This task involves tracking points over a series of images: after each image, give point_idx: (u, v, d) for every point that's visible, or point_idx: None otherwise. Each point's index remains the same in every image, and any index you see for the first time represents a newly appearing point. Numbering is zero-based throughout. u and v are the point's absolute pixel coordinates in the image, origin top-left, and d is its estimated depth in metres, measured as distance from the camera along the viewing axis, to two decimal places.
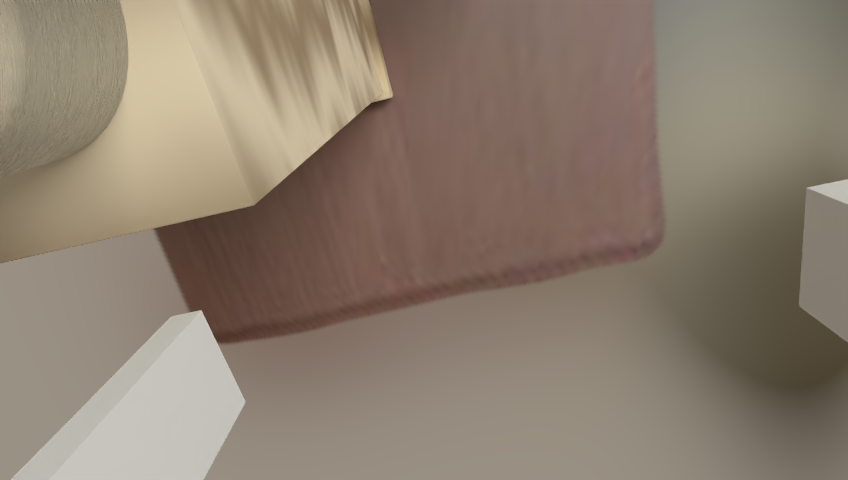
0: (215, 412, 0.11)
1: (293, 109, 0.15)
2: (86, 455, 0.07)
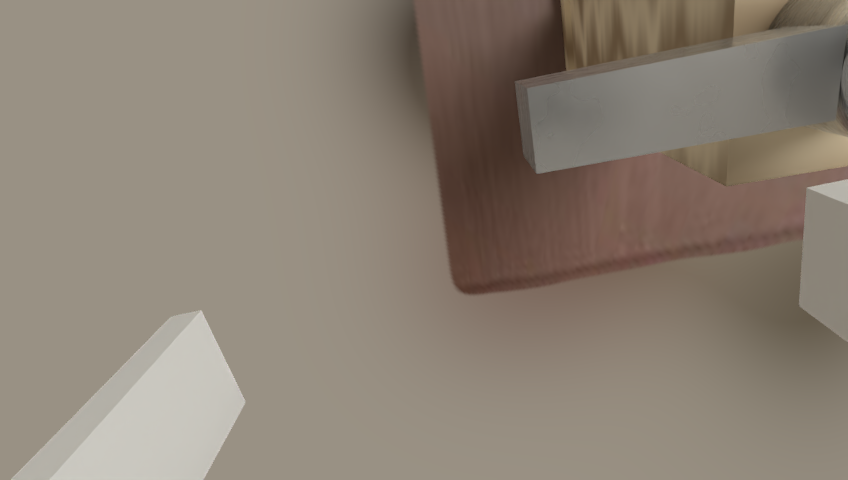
0: (215, 412, 0.11)
1: None
2: (86, 455, 0.07)
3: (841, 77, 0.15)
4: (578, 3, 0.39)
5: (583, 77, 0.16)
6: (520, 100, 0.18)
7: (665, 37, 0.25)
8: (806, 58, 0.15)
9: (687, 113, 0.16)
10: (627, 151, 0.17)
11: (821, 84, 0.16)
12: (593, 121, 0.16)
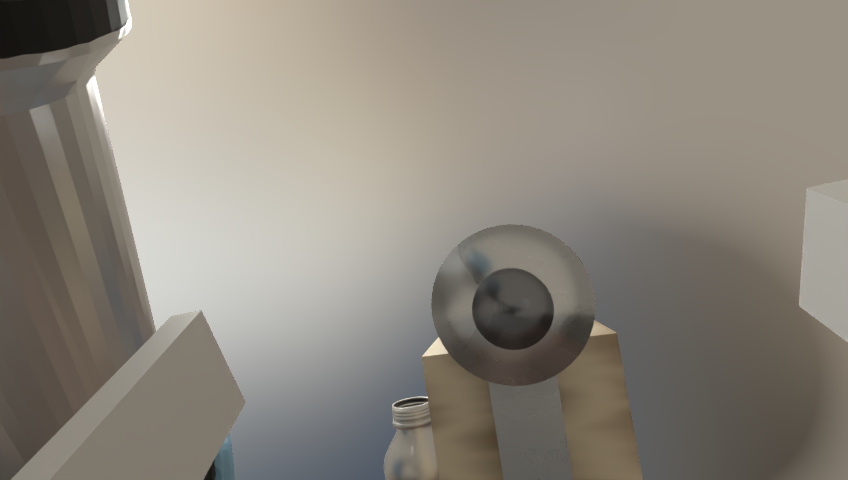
0: (215, 412, 0.11)
1: None
2: (86, 455, 0.07)
3: None
4: None
5: None
6: None
7: None
8: (507, 389, 0.21)
9: (544, 469, 0.21)
10: None
11: None
12: None
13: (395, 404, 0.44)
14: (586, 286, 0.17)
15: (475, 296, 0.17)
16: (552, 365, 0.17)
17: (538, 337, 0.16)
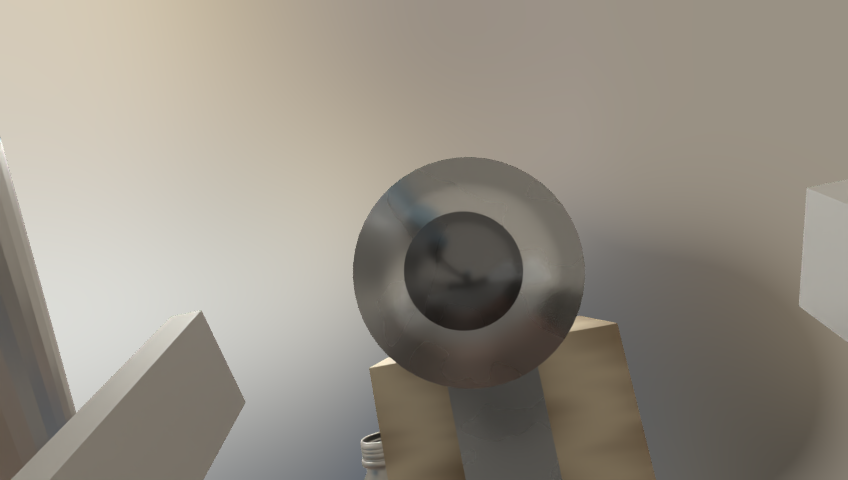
0: (215, 412, 0.11)
1: None
2: (86, 455, 0.07)
3: None
4: None
5: None
6: None
7: None
8: (475, 401, 0.15)
9: None
10: None
11: None
12: None
13: (365, 439, 0.38)
14: (569, 237, 0.12)
15: (408, 254, 0.11)
16: (528, 355, 0.12)
17: (502, 309, 0.11)
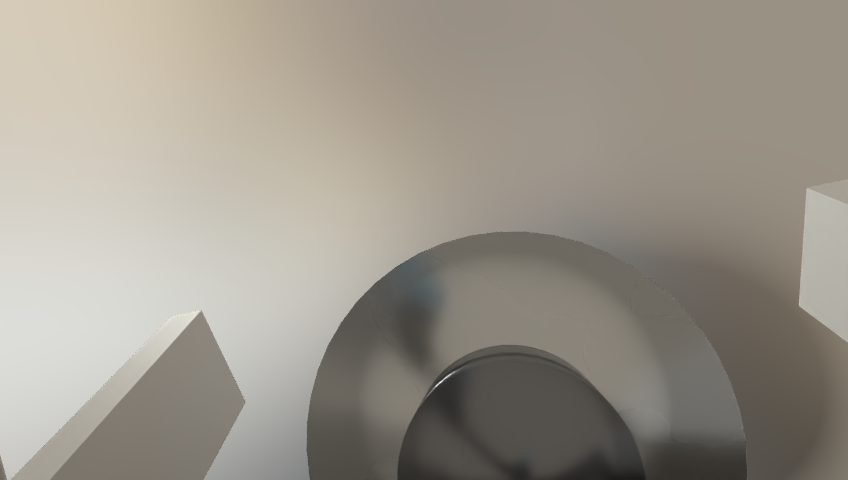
0: (215, 412, 0.11)
1: None
2: (86, 455, 0.07)
3: None
4: None
5: None
6: None
7: None
8: None
9: None
10: None
11: None
12: None
13: None
14: (714, 390, 0.06)
15: (405, 444, 0.06)
16: None
17: None
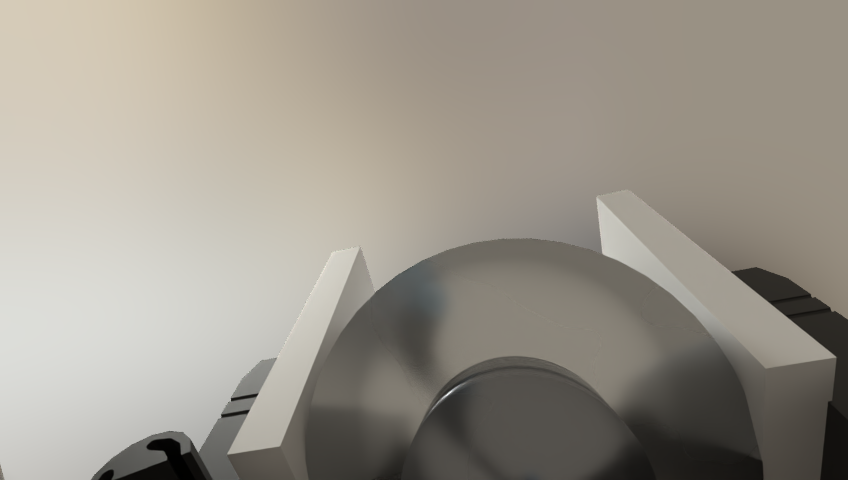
0: None
1: None
2: (328, 342, 0.09)
3: None
4: None
5: None
6: None
7: None
8: None
9: None
10: None
11: None
12: None
13: None
14: (730, 405, 0.06)
15: (408, 462, 0.05)
16: None
17: None
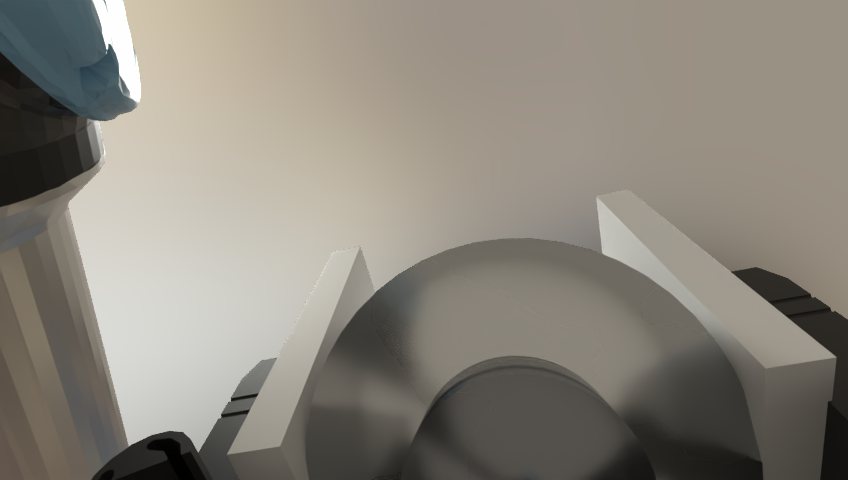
0: None
1: None
2: (328, 342, 0.09)
3: None
4: None
5: None
6: None
7: None
8: None
9: None
10: None
11: None
12: None
13: None
14: (730, 404, 0.06)
15: (409, 461, 0.05)
16: None
17: None
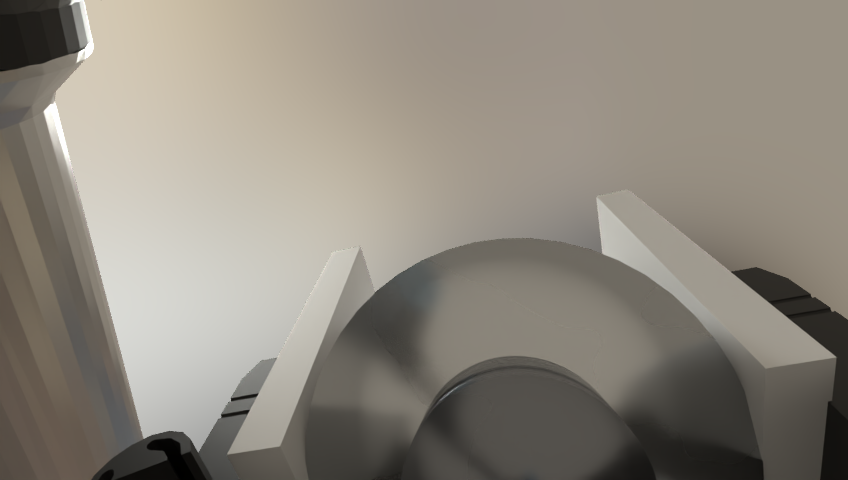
0: None
1: None
2: (328, 342, 0.09)
3: None
4: None
5: None
6: None
7: None
8: None
9: None
10: None
11: None
12: None
13: None
14: (730, 405, 0.06)
15: (408, 462, 0.05)
16: None
17: None
